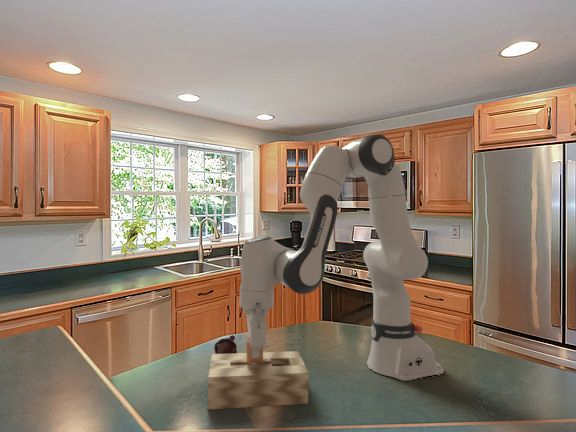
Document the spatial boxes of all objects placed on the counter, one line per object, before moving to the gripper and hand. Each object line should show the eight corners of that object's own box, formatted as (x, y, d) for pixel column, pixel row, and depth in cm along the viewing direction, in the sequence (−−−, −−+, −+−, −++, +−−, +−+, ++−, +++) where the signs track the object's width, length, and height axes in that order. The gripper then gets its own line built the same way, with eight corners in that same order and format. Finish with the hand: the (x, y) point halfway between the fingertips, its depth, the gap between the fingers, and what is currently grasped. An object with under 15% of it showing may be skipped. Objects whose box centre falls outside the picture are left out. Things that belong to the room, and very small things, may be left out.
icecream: (234, 348, 102) (245, 336, 117) (210, 340, 103) (224, 329, 118) (227, 372, 101) (239, 356, 116) (203, 363, 102) (218, 349, 117)
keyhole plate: (297, 377, 98) (298, 351, 98) (308, 403, 84) (308, 372, 84) (211, 381, 94) (212, 354, 94) (207, 409, 80) (208, 377, 80)
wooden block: (260, 371, 91) (262, 337, 91) (262, 378, 87) (263, 342, 87) (245, 371, 91) (246, 337, 91) (246, 378, 87) (247, 342, 87)
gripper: (273, 309, 80) (271, 369, 79) (265, 291, 100) (263, 339, 100) (245, 309, 79) (243, 370, 78) (243, 291, 99) (241, 339, 99)
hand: (254, 353), depth 89 cm, fingers closed on wooden block, 4 cm apart
